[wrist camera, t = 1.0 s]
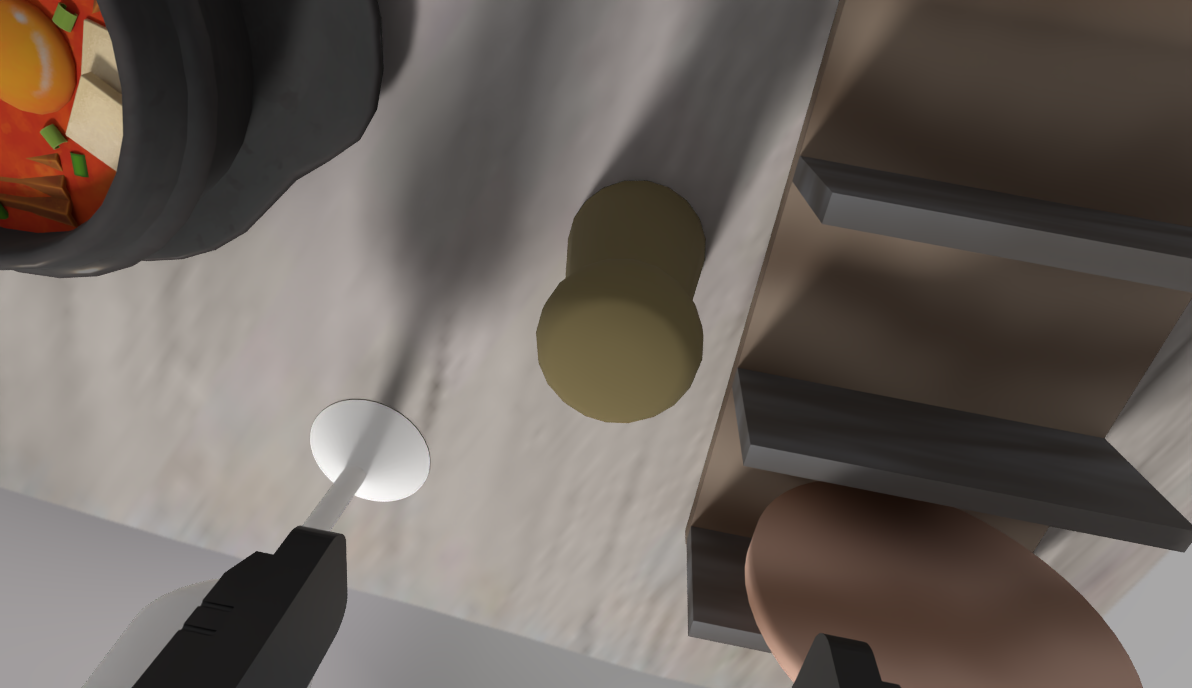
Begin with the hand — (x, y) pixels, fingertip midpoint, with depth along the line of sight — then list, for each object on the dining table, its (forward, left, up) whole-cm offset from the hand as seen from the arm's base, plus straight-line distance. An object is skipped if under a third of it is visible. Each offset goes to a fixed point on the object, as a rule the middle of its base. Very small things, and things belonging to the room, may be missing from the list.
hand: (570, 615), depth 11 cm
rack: (0, +14, -20) cm, 24 cm away
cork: (0, 0, -20) cm, 20 cm away
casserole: (-5, -23, -20) cm, 31 cm away
